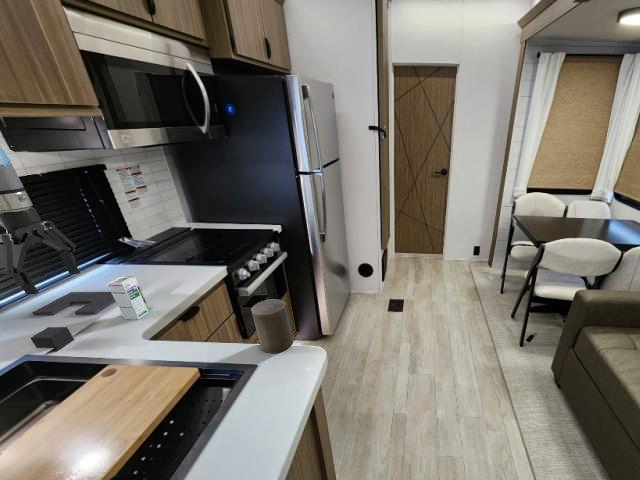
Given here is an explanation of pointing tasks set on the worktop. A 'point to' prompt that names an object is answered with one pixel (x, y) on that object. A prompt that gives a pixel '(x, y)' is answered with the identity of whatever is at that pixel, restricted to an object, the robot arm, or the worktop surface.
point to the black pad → (53, 338)
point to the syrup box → (129, 297)
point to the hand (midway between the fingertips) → (55, 283)
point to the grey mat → (92, 299)
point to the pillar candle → (272, 325)
